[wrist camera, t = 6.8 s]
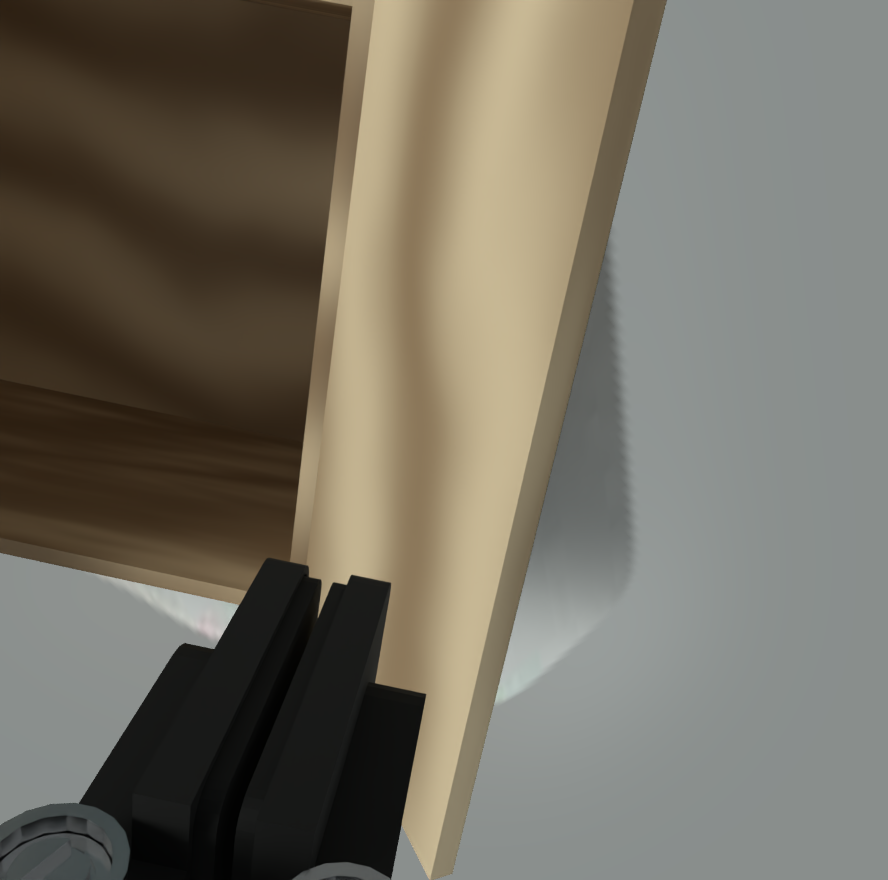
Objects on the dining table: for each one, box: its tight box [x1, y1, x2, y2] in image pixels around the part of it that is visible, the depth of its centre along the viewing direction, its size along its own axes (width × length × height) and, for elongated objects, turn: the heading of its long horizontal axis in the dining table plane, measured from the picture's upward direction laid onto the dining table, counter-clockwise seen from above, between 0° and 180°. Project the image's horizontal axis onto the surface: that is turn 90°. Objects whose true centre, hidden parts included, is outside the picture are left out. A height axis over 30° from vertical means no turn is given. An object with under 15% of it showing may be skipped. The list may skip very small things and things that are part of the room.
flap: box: [306, 0, 667, 880], centre depth 20 cm, size 10×19×1 cm
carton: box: [0, 0, 375, 605], centre depth 31 cm, size 19×21×13 cm
